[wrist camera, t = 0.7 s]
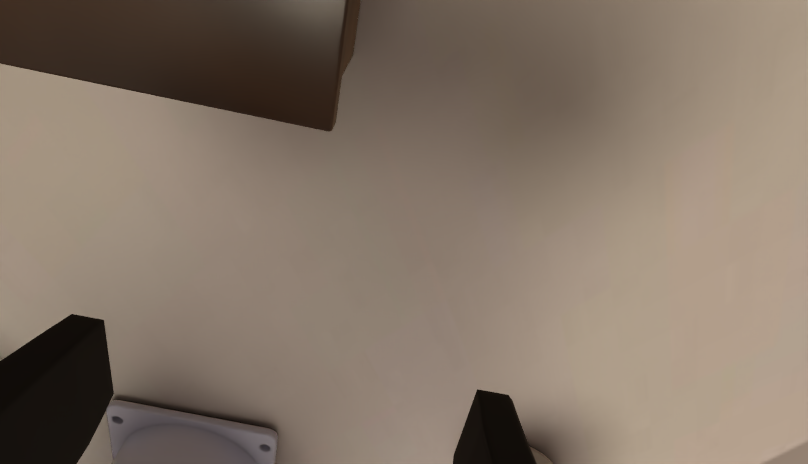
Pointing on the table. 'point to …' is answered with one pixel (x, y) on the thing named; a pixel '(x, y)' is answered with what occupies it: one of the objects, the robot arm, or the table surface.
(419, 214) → the table surface
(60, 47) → the cabinet
